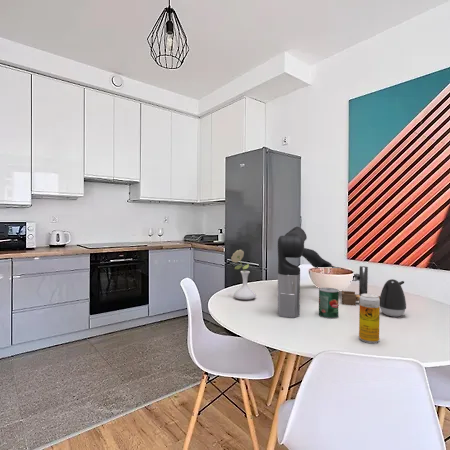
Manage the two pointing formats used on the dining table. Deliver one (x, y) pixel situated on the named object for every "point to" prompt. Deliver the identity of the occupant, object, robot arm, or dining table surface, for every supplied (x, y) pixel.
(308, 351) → the dining table surface
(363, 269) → the copper and grey mallet
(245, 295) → the flower in vase
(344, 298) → the socket
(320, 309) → the canned tomato
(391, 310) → the pump dispenser
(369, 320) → the beer can
